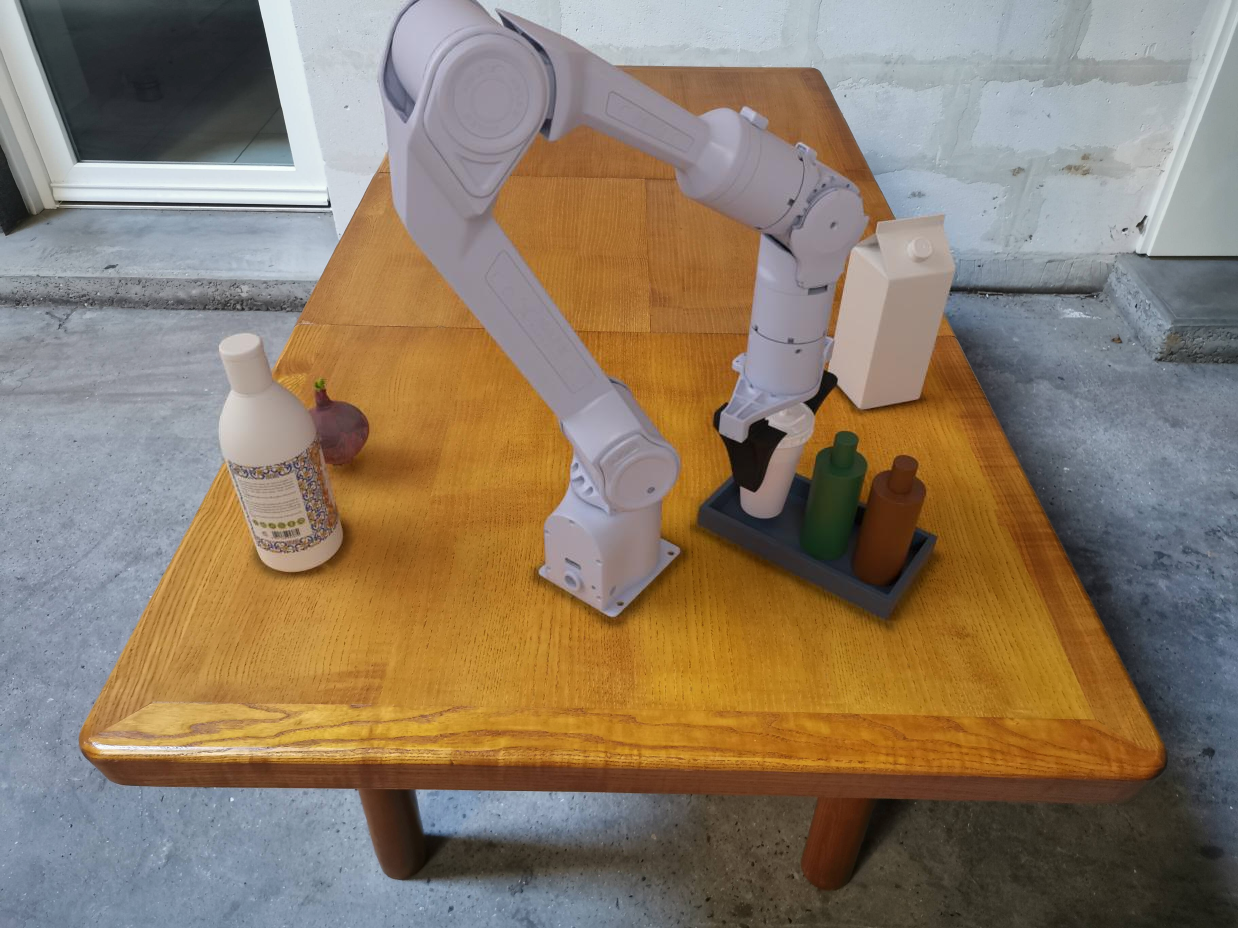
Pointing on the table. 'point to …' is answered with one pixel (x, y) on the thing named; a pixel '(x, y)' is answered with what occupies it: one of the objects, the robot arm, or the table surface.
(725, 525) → the tray
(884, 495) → the brown bottle
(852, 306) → the milk carton
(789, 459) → the smoothie
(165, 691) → the table surface
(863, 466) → the green bottle
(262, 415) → the bath foam
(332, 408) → the vegetable
